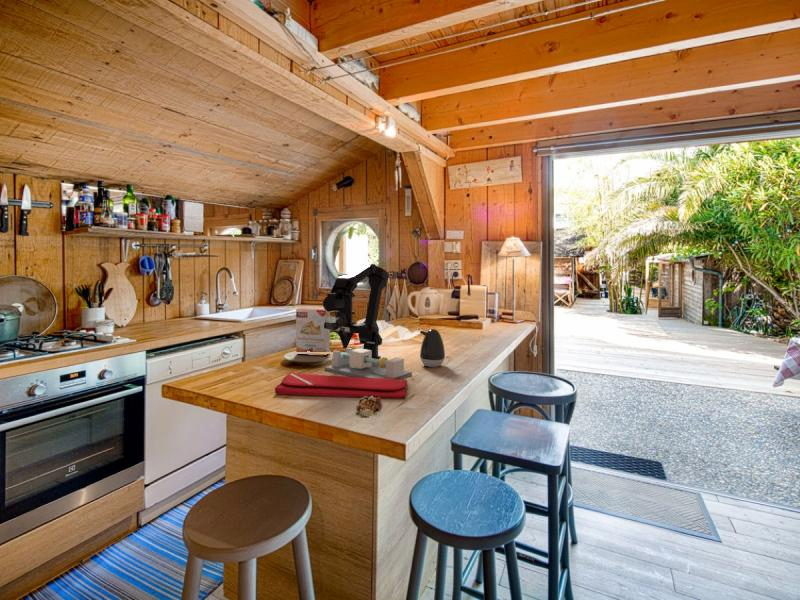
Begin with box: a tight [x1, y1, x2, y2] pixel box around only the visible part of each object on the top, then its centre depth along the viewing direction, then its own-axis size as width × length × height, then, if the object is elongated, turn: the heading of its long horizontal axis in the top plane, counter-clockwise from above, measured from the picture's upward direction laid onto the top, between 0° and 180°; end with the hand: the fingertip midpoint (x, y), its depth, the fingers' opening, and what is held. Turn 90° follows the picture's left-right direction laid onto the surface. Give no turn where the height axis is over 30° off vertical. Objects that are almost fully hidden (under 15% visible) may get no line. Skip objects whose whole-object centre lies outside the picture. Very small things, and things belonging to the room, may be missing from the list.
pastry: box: [355, 396, 383, 418], centre depth 118 cm, size 7×12×4 cm, turn 0°
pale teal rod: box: [340, 351, 389, 369], centre depth 158 cm, size 4×29×4 cm, turn 53°
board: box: [324, 347, 413, 380], centre depth 158 cm, size 16×30×7 cm, turn 53°
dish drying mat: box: [274, 372, 408, 400], centre depth 136 cm, size 16×41×4 cm, turn 86°
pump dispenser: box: [419, 328, 446, 368], centre depth 169 cm, size 10×10×15 cm
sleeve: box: [350, 348, 373, 369], centre depth 160 cm, size 6×6×6 cm
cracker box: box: [295, 307, 331, 353], centre depth 186 cm, size 14×6×21 cm, turn 81°
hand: (345, 348), depth 165 cm, fingers closed
